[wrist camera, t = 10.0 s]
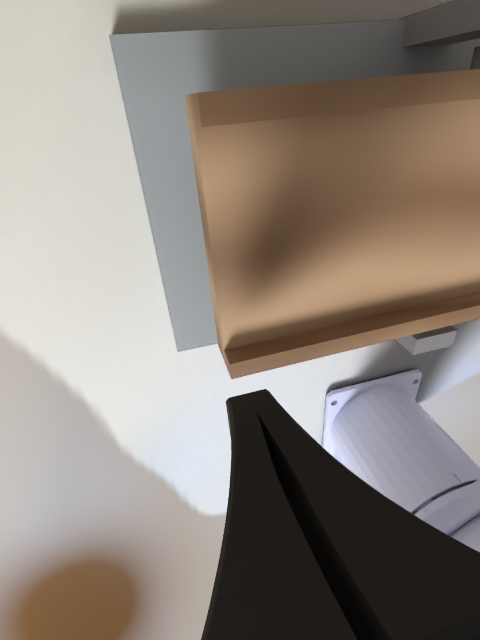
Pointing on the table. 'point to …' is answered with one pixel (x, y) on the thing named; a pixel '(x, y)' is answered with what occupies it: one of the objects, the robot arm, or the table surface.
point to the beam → (338, 212)
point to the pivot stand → (249, 72)
